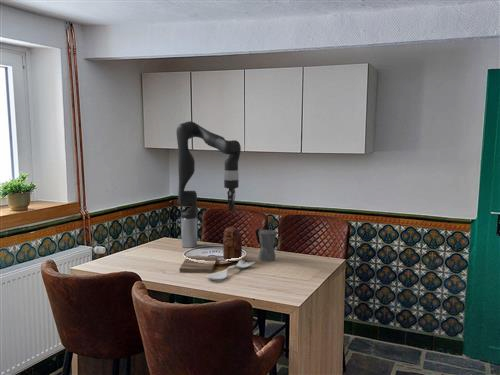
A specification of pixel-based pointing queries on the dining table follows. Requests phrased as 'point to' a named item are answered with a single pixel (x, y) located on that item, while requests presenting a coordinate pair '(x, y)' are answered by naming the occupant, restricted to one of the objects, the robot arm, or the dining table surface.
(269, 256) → the coffeepot
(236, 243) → the wooden figurine
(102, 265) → the dining table surface
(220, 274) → the spoon
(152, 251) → the dining table surface
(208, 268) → the walnut board
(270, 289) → the dining table surface
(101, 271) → the dining table surface
